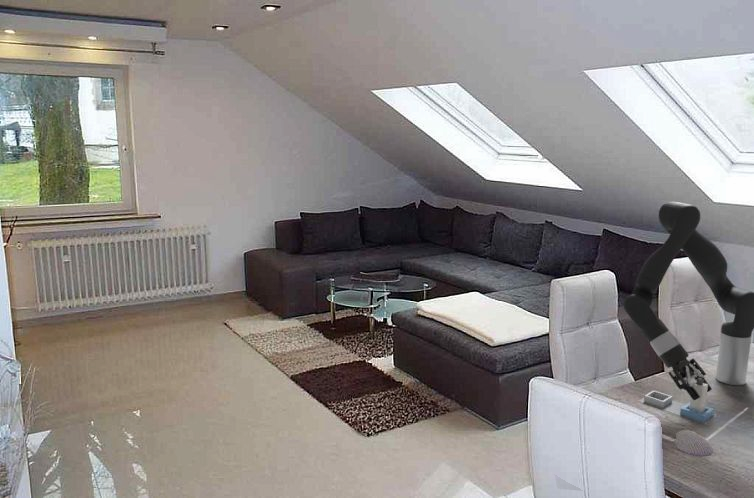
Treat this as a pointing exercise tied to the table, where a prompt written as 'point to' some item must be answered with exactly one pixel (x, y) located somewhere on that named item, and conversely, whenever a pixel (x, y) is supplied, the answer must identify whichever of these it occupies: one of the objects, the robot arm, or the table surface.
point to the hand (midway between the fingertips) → (703, 394)
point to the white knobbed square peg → (701, 401)
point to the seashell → (692, 443)
